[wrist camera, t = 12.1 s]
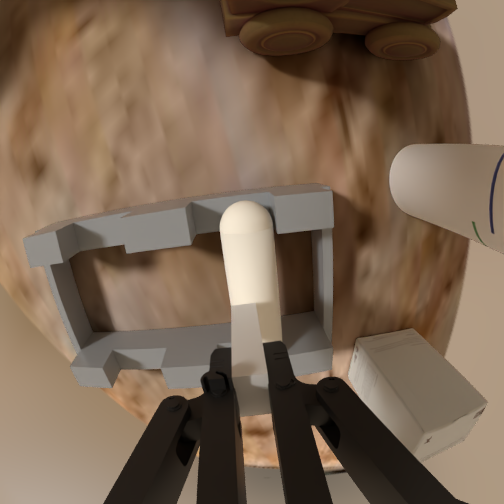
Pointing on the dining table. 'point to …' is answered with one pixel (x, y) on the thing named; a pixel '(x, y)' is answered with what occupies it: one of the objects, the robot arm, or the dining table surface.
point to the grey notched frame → (174, 235)
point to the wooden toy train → (337, 25)
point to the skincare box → (414, 391)
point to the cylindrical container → (453, 188)
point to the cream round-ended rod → (252, 263)
